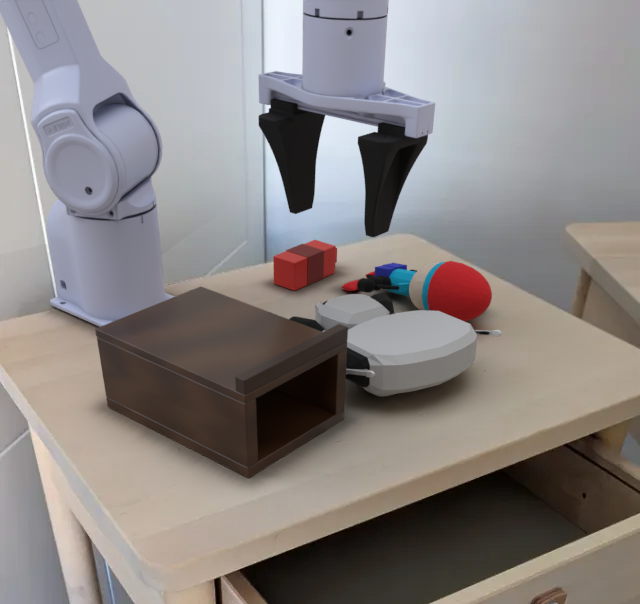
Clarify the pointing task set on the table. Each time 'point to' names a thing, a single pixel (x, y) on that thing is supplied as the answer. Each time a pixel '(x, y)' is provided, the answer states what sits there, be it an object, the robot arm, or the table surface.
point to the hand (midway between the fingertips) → (338, 221)
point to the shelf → (225, 377)
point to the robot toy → (397, 343)
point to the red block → (304, 264)
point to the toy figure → (432, 287)
